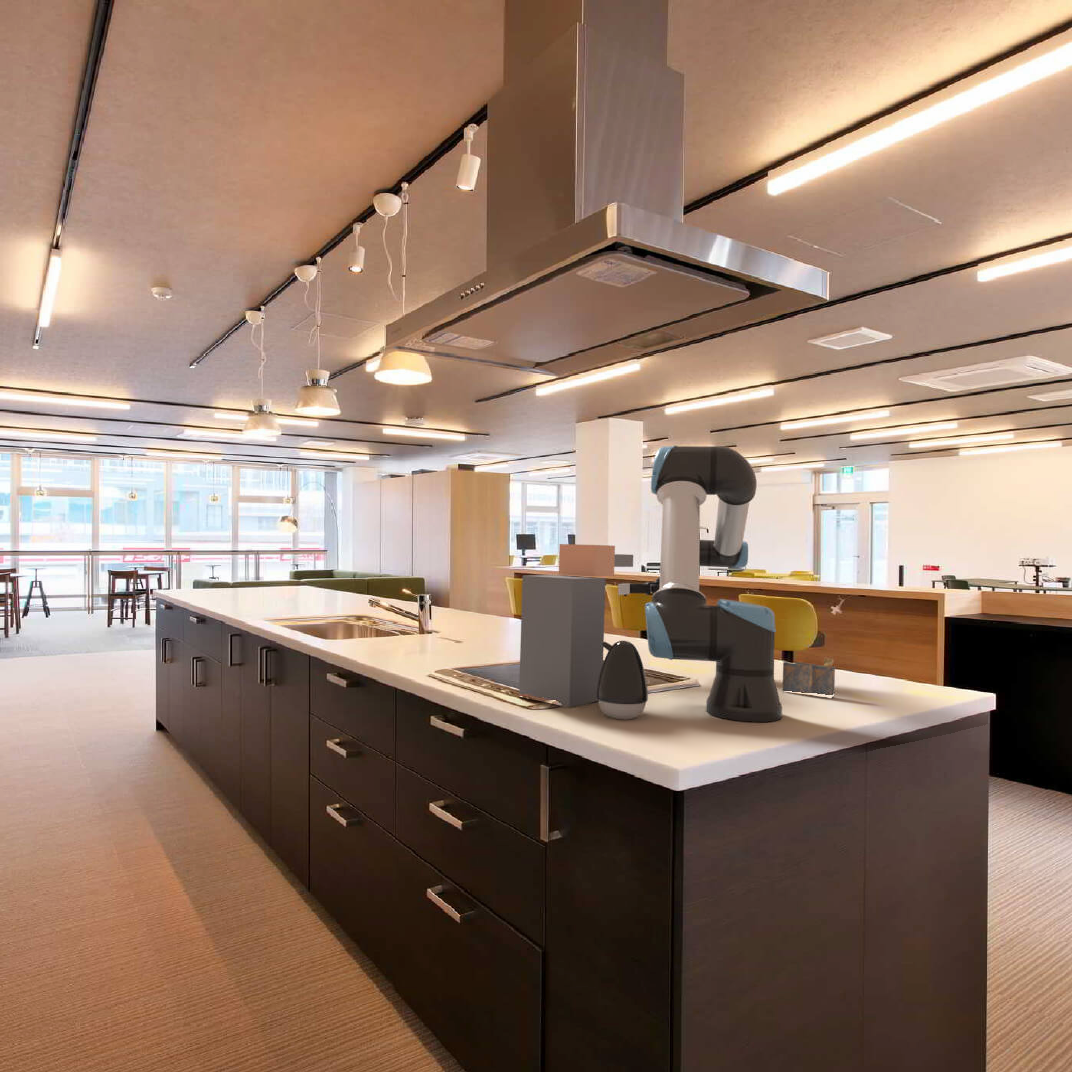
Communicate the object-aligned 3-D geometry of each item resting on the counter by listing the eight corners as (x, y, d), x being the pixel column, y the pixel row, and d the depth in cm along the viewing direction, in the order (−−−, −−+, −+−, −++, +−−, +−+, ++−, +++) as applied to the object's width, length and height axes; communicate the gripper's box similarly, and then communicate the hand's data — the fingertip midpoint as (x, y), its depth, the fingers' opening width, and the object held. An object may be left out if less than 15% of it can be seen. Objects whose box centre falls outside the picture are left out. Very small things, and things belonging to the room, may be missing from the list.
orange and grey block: (611, 573, 185) (611, 546, 185) (645, 575, 178) (645, 547, 179) (558, 574, 168) (559, 544, 168) (593, 576, 162) (594, 544, 162)
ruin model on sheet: (871, 698, 174) (871, 658, 175) (856, 709, 161) (857, 665, 161) (766, 685, 189) (767, 647, 189) (745, 694, 175) (746, 653, 175)
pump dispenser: (617, 708, 153) (619, 636, 153) (657, 717, 146) (659, 641, 146) (584, 715, 146) (586, 639, 146) (625, 725, 138) (627, 645, 139)
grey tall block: (552, 690, 170) (556, 575, 171) (602, 699, 161) (605, 578, 162) (518, 697, 161) (522, 575, 162) (569, 707, 152) (572, 578, 153)
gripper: (715, 604, 194) (694, 608, 175) (627, 599, 205) (598, 603, 187) (716, 575, 194) (695, 577, 175) (627, 573, 206) (599, 574, 187)
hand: (645, 590), depth 181 cm, fingers open, 13 cm apart
